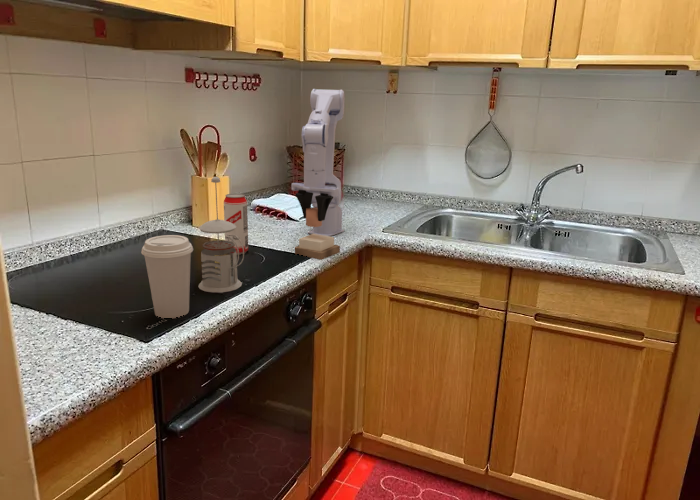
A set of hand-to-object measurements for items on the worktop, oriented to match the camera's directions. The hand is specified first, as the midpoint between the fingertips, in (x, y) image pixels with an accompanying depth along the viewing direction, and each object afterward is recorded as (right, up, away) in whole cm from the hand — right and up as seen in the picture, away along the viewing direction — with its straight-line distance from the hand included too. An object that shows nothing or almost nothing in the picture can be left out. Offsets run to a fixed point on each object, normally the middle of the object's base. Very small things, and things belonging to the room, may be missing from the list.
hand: (314, 219), depth 148 cm
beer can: (-21, -9, 0) cm, 23 cm away
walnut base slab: (+1, -10, +2) cm, 10 cm away
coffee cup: (-26, -21, -40) cm, 52 cm away
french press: (-19, -17, -25) cm, 36 cm away
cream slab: (+1, -8, +1) cm, 8 cm away
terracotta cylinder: (0, -2, 0) cm, 2 cm away
